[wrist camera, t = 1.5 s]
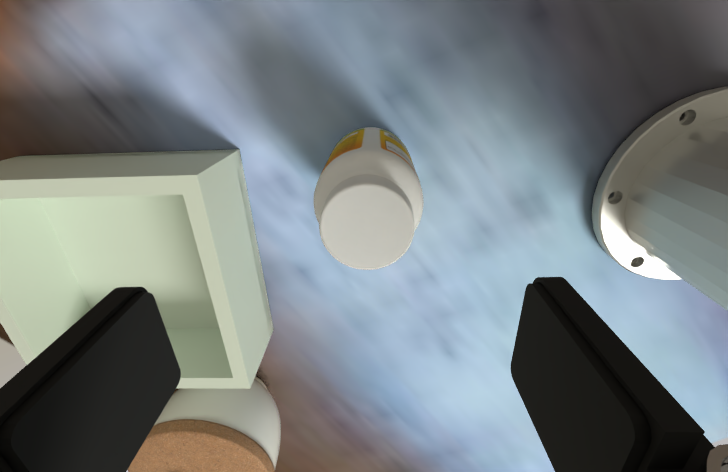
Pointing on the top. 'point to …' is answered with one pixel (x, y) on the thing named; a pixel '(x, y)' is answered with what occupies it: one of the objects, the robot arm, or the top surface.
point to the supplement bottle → (368, 199)
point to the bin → (137, 253)
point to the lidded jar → (214, 432)
